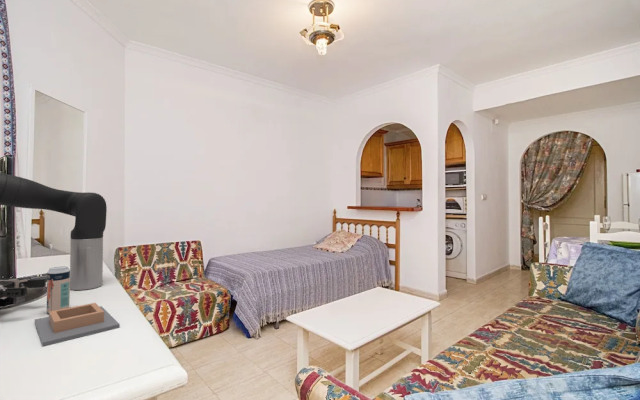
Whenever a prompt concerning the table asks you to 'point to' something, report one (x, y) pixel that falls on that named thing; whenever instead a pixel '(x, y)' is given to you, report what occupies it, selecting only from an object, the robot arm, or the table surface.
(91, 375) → the table surface
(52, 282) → the beer can
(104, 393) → the table surface
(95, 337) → the table surface
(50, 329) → the socket plate
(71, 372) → the table surface
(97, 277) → the robot arm
